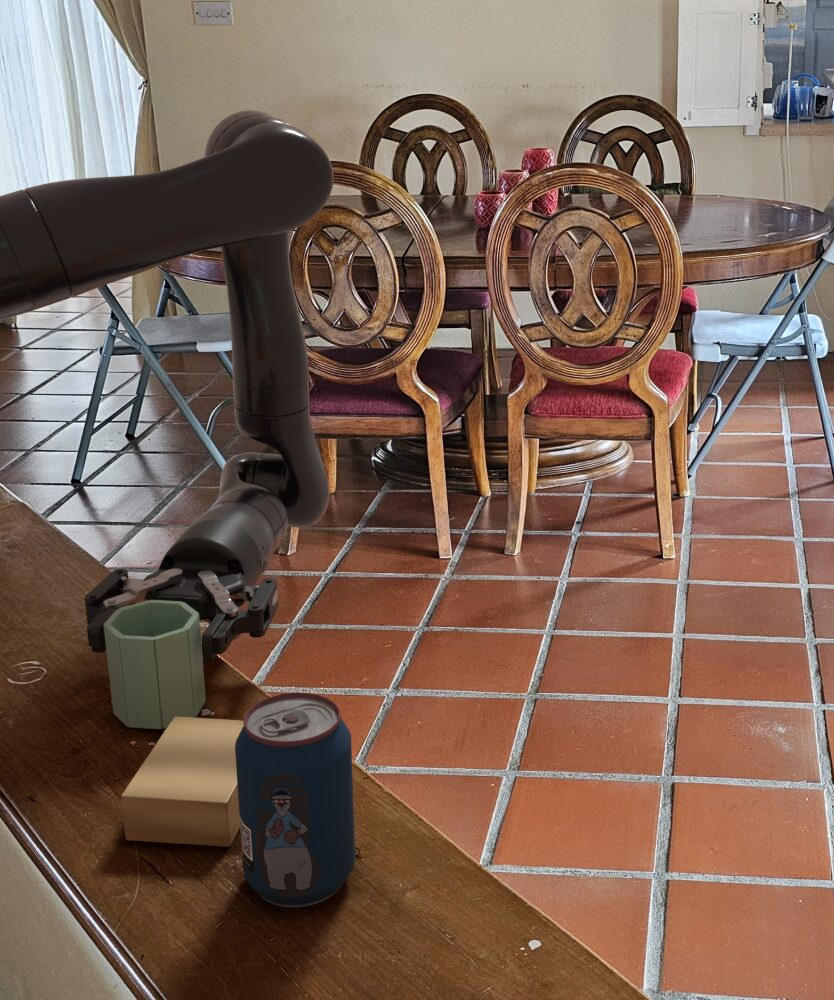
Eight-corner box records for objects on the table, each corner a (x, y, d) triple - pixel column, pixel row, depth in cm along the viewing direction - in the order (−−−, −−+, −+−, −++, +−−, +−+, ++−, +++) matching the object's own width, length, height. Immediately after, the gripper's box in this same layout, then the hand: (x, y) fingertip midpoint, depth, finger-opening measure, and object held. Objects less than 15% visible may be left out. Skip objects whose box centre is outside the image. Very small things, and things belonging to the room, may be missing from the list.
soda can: (330, 833, 87) (324, 677, 83) (373, 891, 82) (369, 727, 78) (229, 866, 84) (216, 704, 79) (267, 929, 78) (256, 759, 74)
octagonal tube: (103, 730, 98) (135, 688, 104) (187, 735, 98) (214, 692, 104) (92, 636, 95) (125, 598, 101) (179, 641, 95) (207, 602, 101)
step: (178, 757, 95) (174, 715, 94) (272, 763, 95) (270, 721, 93) (125, 840, 86) (120, 796, 84) (230, 847, 85) (226, 802, 84)
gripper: (136, 513, 112) (52, 595, 97) (299, 522, 111) (241, 607, 96) (143, 591, 115) (63, 683, 100) (303, 601, 114) (247, 694, 99)
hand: (151, 645), depth 98 cm, fingers open, 8 cm apart
